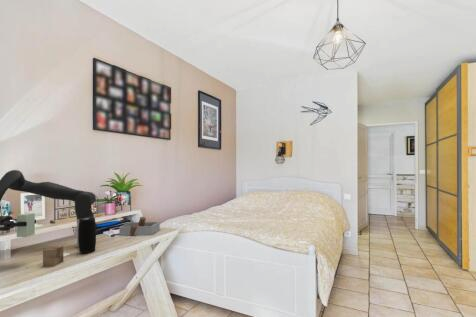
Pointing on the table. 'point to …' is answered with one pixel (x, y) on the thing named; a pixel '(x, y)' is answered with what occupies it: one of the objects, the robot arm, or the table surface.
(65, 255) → the page
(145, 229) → the organizer tray
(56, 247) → the walnut brick
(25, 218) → the sage brick
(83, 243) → the portable speaker
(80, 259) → the table surface
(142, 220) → the wooden block set
